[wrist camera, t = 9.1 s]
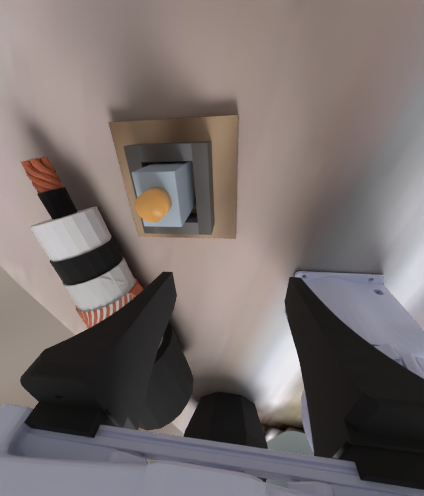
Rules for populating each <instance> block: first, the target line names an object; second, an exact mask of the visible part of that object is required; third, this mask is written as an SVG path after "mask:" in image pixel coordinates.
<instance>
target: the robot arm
mask: <svg viewBox="0 0 424 496" xmlns="http://www.w3.org/2000/svg"><path fill="white" fill-rule="evenodd" d="M303 275H306V276H303ZM369 278H371V279H369ZM385 280H386V278H385V277H384V276H383V275H377V274H353V273H330V272H307V271H298V272H296V273H295V276H294V277H290V278H289V283H288V288H287V293H286V298H285V307H286V317H287V319H288V322H289V326H290V330H291V333H292V336H293V340H294V343H295V347H296V350H297V354H298V358H299V362H300V367H301V372H302V377H303V383H304V391H303V393H302V396H301V416H302V422H303V426H304V430H305V433H306V436H307V439H308V442H309V444H310V446H311V449H312V450H313V453H314V456H310V455H304V454H297V453H290V452H283V451H277V450H270V449H263V448H256V447H249V446H243V445H236V444H229V443H222V442H216V441H209V440H202V439H195V438H188V437H181V436H175V435H168V434H161V433H154V432H147V431H141V430H138V428H139V423H140V419H141V414H142V410H143V405H144V401H145V397H146V392H147V388H148V384H149V380H150V376H151V373H152V369H153V365H154V362H155V358H156V355H157V351H158V348H159V345H160V342H161V340H162V337H163V335H164V332H165V330H166V327H167V325H168V322H169V320H170V317H171V314H172V312H173V309H174V305H175V301H176V297H177V294H176V289H175V283H174V278H173V273H172V272H162V273H161V274H160V275H159V276H158V277H157V278H156V279H155V280H154V281H153V282H152V283H150V284H149V285H148V286H147V287H146V288H145V289H144V290H143V291H142V292H141V293H139V294H138V295H137V296H136V297H134V298H133V299H132V300H131V301H130V302H128V303H127V304H126V305H124V306H123V307H122V308H120V309H119V310H118V311H116V312H115V313H113V314H112V315H110V316H109V317H107V318H105V319H104V320H102V321H101V322H99V323H97V324H96V325H94V326H92V327H90V328H89V329H87V330H85V331H83V332H81V333H79V334H77V335H75V336H74V337H71V338H69V339H67V340H65V341H63V342H61V343H59V344H56V345H54V346H52V347H50V348H47V349H45V350H44V351H43V352H42V353H41V354H40V356H39V357H38V358H37V359H36V360H35V361H34V363H33V364H32V365H31V366H30V367H29V368H28V369H27V371H26V372H25V373H24V374H23V375H22V376H21V379H20V382H21V385H22V386H23V387H24V388H25V389H26V390H27V391H28V392H29V393H30V394H31V395H32V396H33V397H35V399H37V400H38V401H39V403H38V404H37V405H36V407H35V408H34V409H32V408H29V407H25V406H19V405H12V404H4V405H2V407H1V408H0V496H424V331H423V330H422V328H421V327H420V325H419V324H418V323H417V322H416V321H415V320H414V319H413V317H412V316H411V315H410V314H409V313H408V312H407V311H406V310H405V308H404V307H403V306H402V305H401V304H400V303H399V302H398V301H397V299H396V298H395V297H394V296H393V295H392V294H391V293H390V291H389V290H388V289H387V288H386V287H385V286H384V285H383V284H384V282H385ZM144 458H145V459H144ZM146 459H151V460H155V461H151V462H150V463H149V464H148V463H147V460H146ZM257 477H260V478H266V479H272V480H279V481H284V482H288V483H287V488H283V487H279V486H276V485H272V484H268V483H265V482H263V481H262V480H261V479H259V478H257Z"/></svg>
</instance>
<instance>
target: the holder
mask: <svg viewBox="0 0 424 496" xmlns="http://www.w3.org/2000/svg"><path fill="white" fill-rule="evenodd" d="M238 120H239V115H228V116H211V117H193V118H176V119H158V120H141V121H123V122H109V126H110V130H111V134H112V137H113V141H114V145H115V149H116V153H117V156H118V160H119V164H120V168H121V172H122V176H123V179H124V183H125V187H126V191H127V195H128V198H129V202H130V206H131V210H132V214H133V217H134V221H135V225H136V229H137V233H138V236H143V237H185V238H227V239H236V213H237V167H238ZM172 161H192V163H193V174H194V185H195V196H196V204H195V206H194V208H193V209H192V211H191V213H190V214H189V216H188V218H187V219H186V221H185V223H184V224H183V226H182V227H153V226H144V222H143V219H142V218H141V217H140V216H139V215H138V213H137V211H136V208H135V202H136V199H137V198H138V197H137V193H136V189H135V185H134V181H133V176H132V172H134V171H136V170H138V169H141V168H143V167H146V166H148V165H150V164H153V163H155V162H172Z"/></svg>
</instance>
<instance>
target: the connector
mask: <svg viewBox="0 0 424 496" xmlns="http://www.w3.org/2000/svg"><path fill="white" fill-rule="evenodd" d="M132 176H133V181H134V185H135V189H136V193H137V197H138V198H137V199H136V202H135V208H136V211H137V213H138V215H139V216H140V217H141V218H142V219H143V222H144V226H153V227H182V226H183V224H184V223H185V221H186V219H187V218H188V216H189V214H190V213H191V211H192V209H193V208H194V206H195V204H196V196H195V185H194V174H193V163H192V161H172V162H155V163H153V164H150V165H148V166H146V167H143V168H141V169H138V170H136V171H134V172H132Z"/></svg>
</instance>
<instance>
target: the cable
mask: <svg viewBox="0 0 424 496" xmlns="http://www.w3.org/2000/svg"><path fill="white" fill-rule="evenodd" d="M21 163H22V165H23V167H24V169H25V171H26V173H27V176H28V177H29V179H30V180H31V181H32V184H33V186H34V187H35V189H37V192H38V194H37V195H38V196H39V198H40V200H41V201H42V203H43V204H44V206H45V208H46V209H47V211H48V213H49V214H50V216H51V218H52V219H50V220H47V221H44V222H41V223H38V224H35V225H33V226H31V227H30V229H31V230H32V232H33V233H34V235H35V236H36V238H37V240H38V241H39V243H40V244H41V246H42V247H43V249H44V251H45V252H46V254H47V255H48V257H49V258H50V263H51V264H52V266H53V267H54V269H55V270H56V272H57V273H58V275H59V277H60V278H61V280H62V281H63V285H64V286H65V288H66V290H67V291H68V293H69V294H70V296H71V298H72V299H73V301H74V302H75V304H76V307H77V308H76V310H77V312H78V314H79V315H80V317H81V318H82V319H83V321H84V323H85V324H86V325H87V327H88V329H89V328H90V327H92V326H94V325H96V324H97V323H99V322H101V321H102V320H104V319H105V318H107V317H109V316H110V315H112V314H113V313H115V312H116V311H118V310H119V309H120V308H122V307H123V306H124V305H126V304H127V303H128V302H130V301H131V300H132V299H133V298H134V297H136V296H137V295H138V294H139V293H141V292H142V291H143V288H142V286H141V285H139V283H138V281H137V279H136V277H134V276H133V275H132V273H131V271H130V269H129V267H128V265H127V263H126V261H125V259H124V257H123V256H122V255H121V253H120V251H119V249H118V247H117V245H116V243H115V241H114V239H113V237H112V236H111V235H110V233H109V231H108V229H107V227H106V224H105V222H104V220H103V218H102V216H101V214H100V212H99V210H98V208H97V206H96V207H91V208H87V209H83V210H80V211H77V209H76V207H75V206H74V204H73V202H72V200H71V198H70V196H69V194H68V192H67V190H66V188H65V187H63V185H62V184H61V181H60V179H59V177H58V176H57V175H56V171H55V169H54V168H53V166H52V165H51V163H50V162H49V160H48V158H40V159H38V158H35V159H30V161H23V162H21ZM192 390H193V376H192V373H191V370H190V367H189V365H188V363H187V360H186V358H185V356H184V354H183V351H182V349H181V347H180V345H179V342H178V340H177V338H176V335H175V333H174V331H173V329H172V326H171V324H170V323H169V322H168V325H167V327H166V330H165V332H164V335H163V337H162V340H161V342H160V345H159V348H158V351H157V355H156V358H155V362H154V365H153V369H152V373H151V376H150V380H149V384H148V388H147V392H146V397H145V401H144V405H143V410H142V414H141V419H140V423H139V428H142V429H145V430H153V429H159V428H162V427H164V426H166V425H167V424H169V423H171V422H172V421H173V420H174V419H175V418H177V417H178V416H179V415H180V414H181V413H182V411H183V409H184V408H185V406H186V405H187V403H188V402H189V399H190V397H191V394H192Z"/></svg>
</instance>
